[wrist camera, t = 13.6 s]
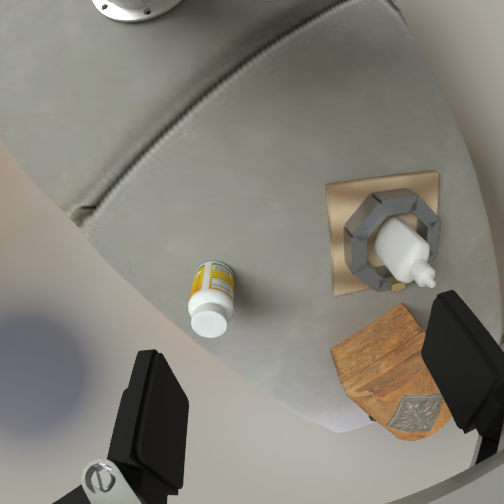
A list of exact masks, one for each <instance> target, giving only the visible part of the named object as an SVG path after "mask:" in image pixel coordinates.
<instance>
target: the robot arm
mask: <svg viewBox="0 0 504 504" xmlns="http://www.w3.org/2000/svg"><path fill="white" fill-rule="evenodd" d="M92 1H93V3H94V5H95V7H96V8H97V9H98V10H99V11H100V12H101V13H102V14H103V15H105V16H107V17H109V18H111V19H113V20H116V21H121V22H139V21H145V20H148V19H152V18H155V17H157V16H159V15H162V14H164V13H165V12H167V11H169V10H170V9H172V8H174V7H175V6H176V5H177V4H179V3H180V2H181V1H182V0H92ZM107 7H108V8H107ZM106 8H107V9H106ZM148 12H151V13H150V14H149V15H147V13H148ZM421 356H422V359H423V361H424V363H425V365H426V367H427V368H428V370H429V372H430V374H431V376H432V378H433V379H434V381H435V383H436V385H437V387H438V389H439V391H440V393H441V395H442V397H443V398H444V400H445V402H446V404H447V406H448V408H449V410H450V412H451V414H452V416H453V418H454V421H455V422H456V425H457V426H458V427H459V428H460V429H463V431H464V433H465V434H466V433H468V432H470V431H472V430H474V429H475V428H476V429H477V431H478V433H479V436H478V440H477V444H476V448H475V451H474V455H473V458H472V461H471V464H470V467H469V469H467V470H465V471H463V472H461V473H459V474H457V475H455V476H453V477H451V478H449V479H447V480H445V481H443V482H440V483H438V484H436V485H434V486H431V487H429V488H427V489H424V490H422V491H419V492H417V493H414V494H412V495H409V496H407V497H404V498H401V499H398V500H395V501H393V502H390V503H387V504H504V352H503V351H502V349H501V348H500V347H499V345H498V344H497V343H496V341H495V340H494V339H493V337H492V336H491V335H490V333H489V332H488V331H487V330H486V328H485V327H484V326H483V324H482V323H481V322H480V321H479V319H478V318H477V317H476V316H475V315H474V313H473V312H472V311H471V310H470V308H469V307H468V306H467V305H466V304H465V302H464V301H463V300H462V299H461V298H460V297H459V295H458V294H457V293H456V292H455V291H454V290H450V291H446V292H443V293H440V294H438V295H437V297H436V299H435V300H434V301H433V305H432V310H431V314H430V319H429V323H428V327H427V331H426V335H425V339H424V342H423V346H422V350H421ZM188 412H189V402H188V398H187V396H186V394H185V393H184V391H183V390H182V388H181V386H180V384H179V382H178V381H177V379H176V377H175V376H174V374H173V372H172V370H171V368H170V367H169V365H168V363H167V361H166V359H165V357H164V355H163V354H162V353H158V352H157V350H155V349H153V350H144V351H139V352H138V354H137V357H136V360H135V364H134V367H133V371H132V375H131V378H130V382H129V386H128V388H127V389H126V390H124V392H123V395H122V398H121V402H120V406H119V410H118V414H117V418H116V422H115V426H114V430H113V434H112V438H111V443H110V447H109V452H108V457H107V460H106V459H96V460H94V461H91V462H90V463H89V464H88V465H86V467H85V468H84V470H83V472H82V475H81V483H82V484H81V485H80V486H78V487H77V488H76V489H74V490H73V491H71V492H69V493H68V494H66V495H65V496H64V497H62V498H61V499H59V500H57V501H56V502H54V503H53V504H167V496H168V495H178V489H181V488H182V487H183V476H184V461H185V448H186V436H187V423H188Z"/></svg>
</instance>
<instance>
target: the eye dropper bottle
mask: <svg viewBox="0 0 504 504" xmlns="http://www.w3.org/2000/svg"><path fill="white" fill-rule="evenodd" d="M374 250H375V253H376V254H377V255H378V256H379V258H380V259H381V260H382V262H383V263H384V264H385V266H386V267H387V268H388V269H389V271H390V272H391V273H392V275H393V276H394V277H395V278H396V279H397V280H398V281H400V282H403V283H410V282H411V281H413V280H415V282H416V283H417V284H418V285H419V286H420V287H426V286H429V287H430V288H434V287H435V282H434V278H435V271H434V269H433V268H432V267H431V266H430V265H429V264H428V263H427V261H428V258H429V250H430V248H429V244H428V243H427V242H426V241H425V240H424V239H423V238H422V237H421V236H420V235H419V234H418V233H417V232H416V231H415V230H413V229H412V228H411V227H410V226H409V225H408V224H407V223H406V222H405V221H403V220H402V219H400V218H398V217H395V216H392V217H390V218H389V219H387V220H386V222H385V223H384V224H383V225H382V227H381V228H380V230H379V232H378V234H377V236H376V239H375V244H374Z"/></svg>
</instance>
